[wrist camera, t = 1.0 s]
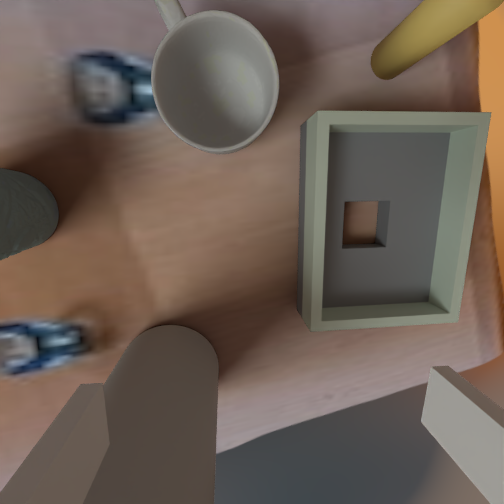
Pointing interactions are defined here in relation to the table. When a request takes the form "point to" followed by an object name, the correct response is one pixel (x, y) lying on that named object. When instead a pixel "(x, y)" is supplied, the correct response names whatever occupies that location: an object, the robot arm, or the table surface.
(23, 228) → the grey-green cup
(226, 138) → the teacup
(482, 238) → the table surface
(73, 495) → the robot arm
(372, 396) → the table surface
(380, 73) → the peg
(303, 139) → the box
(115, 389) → the cylinder vase
